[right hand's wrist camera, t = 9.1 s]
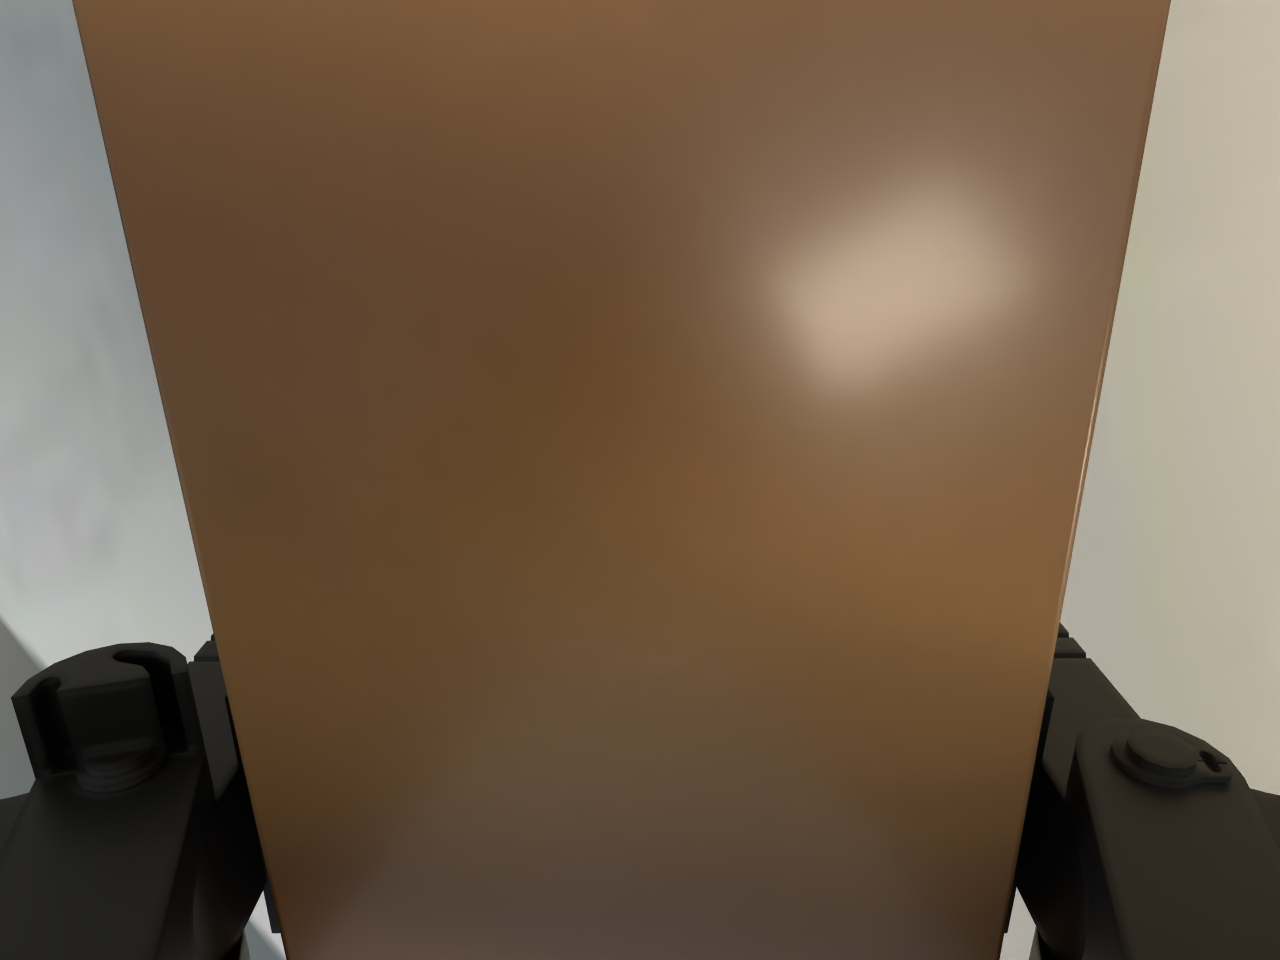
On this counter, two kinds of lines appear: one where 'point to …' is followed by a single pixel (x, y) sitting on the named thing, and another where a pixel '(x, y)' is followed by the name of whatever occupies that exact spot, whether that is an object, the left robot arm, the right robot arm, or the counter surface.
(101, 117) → the post
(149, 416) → the counter surface
